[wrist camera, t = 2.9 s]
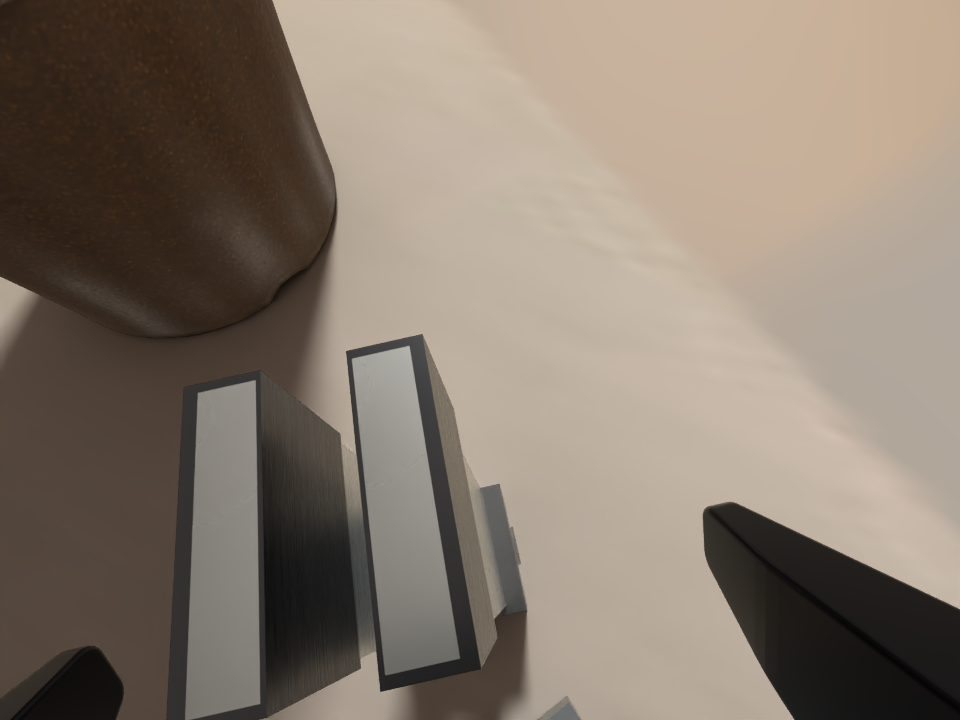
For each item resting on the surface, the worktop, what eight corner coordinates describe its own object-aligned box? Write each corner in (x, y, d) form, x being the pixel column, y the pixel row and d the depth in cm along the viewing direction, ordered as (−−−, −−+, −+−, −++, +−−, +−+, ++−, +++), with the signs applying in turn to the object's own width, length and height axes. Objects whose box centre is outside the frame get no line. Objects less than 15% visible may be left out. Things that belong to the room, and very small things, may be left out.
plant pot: (421, 331, 19) (52, -549, 4) (-1, 447, 18) (-2085, -89, 4) (356, 63, 26) (128, -632, 11) (46, 143, 25) (-626, -473, 10)
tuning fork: (530, 605, 15) (541, 670, 4) (418, 630, 15) (106, 769, 4) (506, 497, 16) (462, 315, 5) (403, 520, 16) (141, 388, 5)
